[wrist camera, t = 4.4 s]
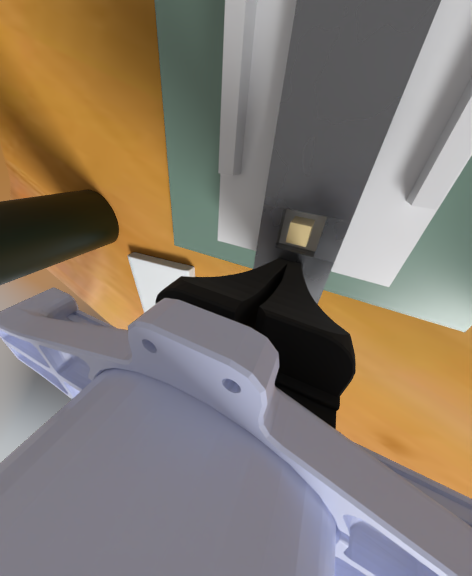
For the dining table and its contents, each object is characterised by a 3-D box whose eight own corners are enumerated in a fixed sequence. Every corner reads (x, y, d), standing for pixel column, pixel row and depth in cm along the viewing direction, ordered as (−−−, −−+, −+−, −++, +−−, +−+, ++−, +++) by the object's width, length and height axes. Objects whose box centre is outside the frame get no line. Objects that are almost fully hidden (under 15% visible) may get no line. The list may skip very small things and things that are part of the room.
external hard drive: (197, 264, 21) (204, 347, 28) (136, 250, 24) (156, 328, 31) (187, 271, 20) (197, 356, 27) (125, 255, 23) (148, 336, 30)
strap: (369, -375, 4) (373, -474, 4) (652, -532, 3) (735, -719, 3) (254, 281, 14) (249, 288, 13) (316, 301, 13) (315, 310, 12)
